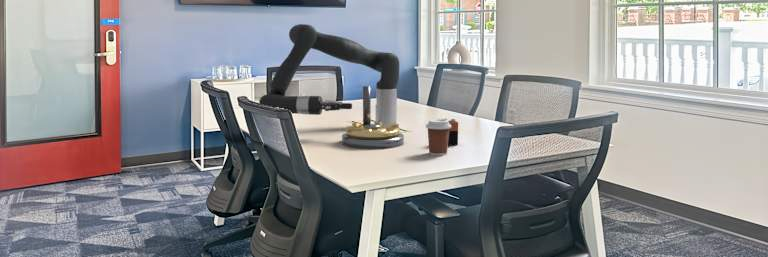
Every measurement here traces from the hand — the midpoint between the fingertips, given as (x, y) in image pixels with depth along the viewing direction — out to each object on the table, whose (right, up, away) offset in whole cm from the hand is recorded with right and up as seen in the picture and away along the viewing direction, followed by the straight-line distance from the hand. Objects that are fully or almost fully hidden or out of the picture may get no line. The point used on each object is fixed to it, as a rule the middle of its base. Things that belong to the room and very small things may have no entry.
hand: (351, 106), depth 256 cm
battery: (+38, -15, -9) cm, 42 cm away
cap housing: (+9, -15, -7) cm, 18 cm away
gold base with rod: (+9, -11, -7) cm, 16 cm away
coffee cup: (+32, -18, -27) cm, 46 cm away
